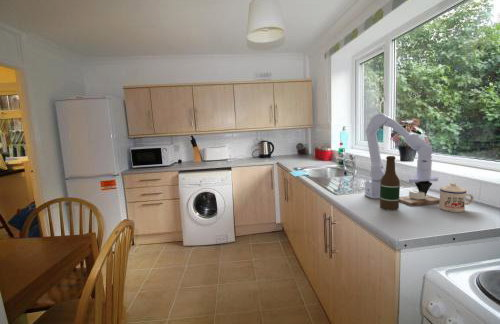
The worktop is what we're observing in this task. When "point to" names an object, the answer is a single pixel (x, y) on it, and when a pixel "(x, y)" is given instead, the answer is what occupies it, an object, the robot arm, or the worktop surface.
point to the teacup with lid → (453, 198)
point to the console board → (414, 202)
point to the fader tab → (417, 195)
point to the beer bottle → (390, 187)
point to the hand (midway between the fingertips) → (422, 196)
